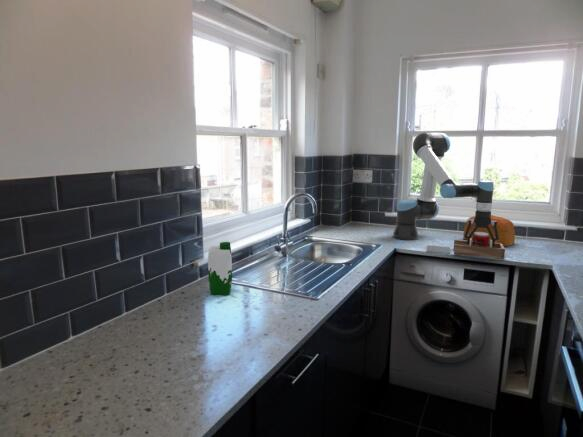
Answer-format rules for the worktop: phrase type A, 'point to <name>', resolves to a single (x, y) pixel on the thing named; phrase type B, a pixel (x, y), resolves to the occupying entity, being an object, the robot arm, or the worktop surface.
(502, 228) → the bread
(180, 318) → the worktop surface
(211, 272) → the milk carton
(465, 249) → the wooden tray
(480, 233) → the canned food
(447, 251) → the mat
